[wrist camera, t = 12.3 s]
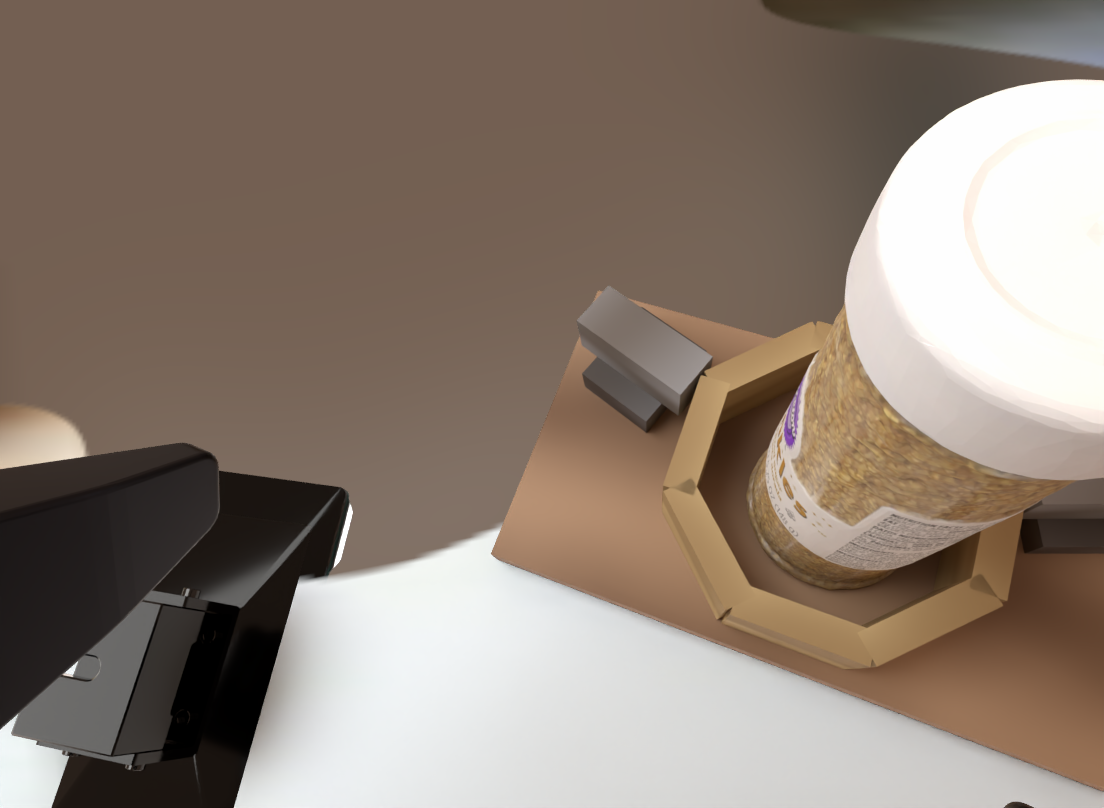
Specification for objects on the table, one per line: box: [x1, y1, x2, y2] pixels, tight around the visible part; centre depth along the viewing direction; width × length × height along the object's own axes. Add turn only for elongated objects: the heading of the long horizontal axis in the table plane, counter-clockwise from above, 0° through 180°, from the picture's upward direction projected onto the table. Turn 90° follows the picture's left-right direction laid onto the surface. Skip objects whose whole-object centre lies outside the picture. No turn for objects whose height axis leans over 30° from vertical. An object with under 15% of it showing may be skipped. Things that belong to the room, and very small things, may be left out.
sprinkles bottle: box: [746, 80, 1104, 590], centre depth 14 cm, size 5×5×13 cm
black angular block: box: [11, 471, 353, 808], centre depth 20 cm, size 12×7×5 cm, turn 171°
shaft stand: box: [491, 286, 1104, 792], centre depth 20 cm, size 9×16×4 cm, turn 69°
